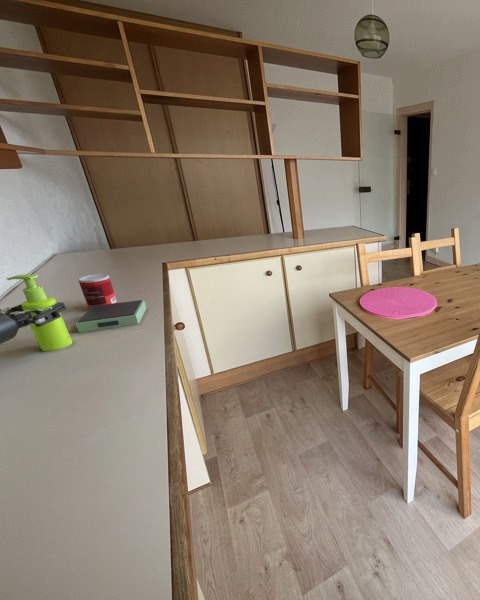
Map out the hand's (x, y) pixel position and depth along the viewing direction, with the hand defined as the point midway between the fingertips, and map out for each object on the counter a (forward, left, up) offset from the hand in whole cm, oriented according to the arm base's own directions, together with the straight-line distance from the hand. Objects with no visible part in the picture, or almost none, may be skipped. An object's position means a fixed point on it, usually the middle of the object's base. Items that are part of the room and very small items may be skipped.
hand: (46, 305), depth 83 cm
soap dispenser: (-1, -2, -11) cm, 11 cm away
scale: (+9, +12, -11) cm, 19 cm away
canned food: (+3, +26, -11) cm, 29 cm away
